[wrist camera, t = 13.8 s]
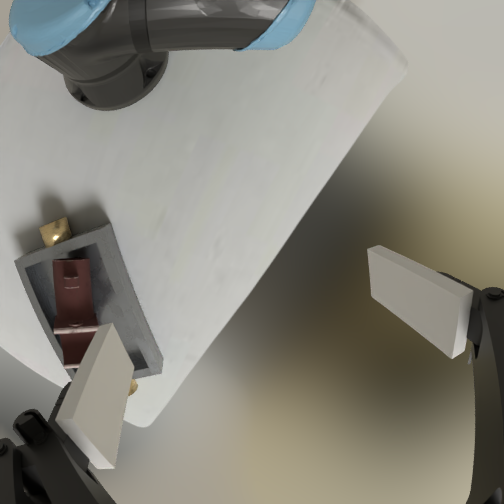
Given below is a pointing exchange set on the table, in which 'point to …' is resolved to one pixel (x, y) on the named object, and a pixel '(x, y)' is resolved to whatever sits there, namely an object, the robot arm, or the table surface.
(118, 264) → the cradle
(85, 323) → the bracket
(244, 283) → the table surface
